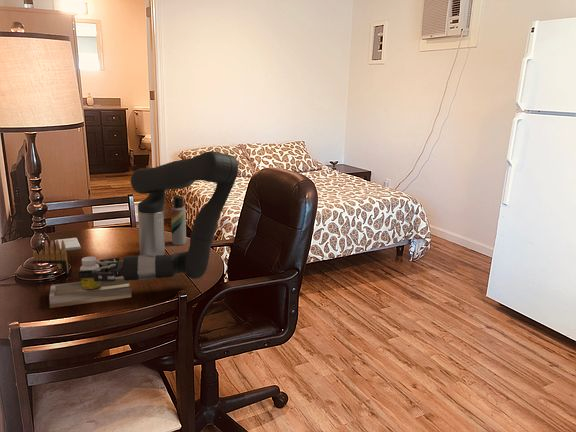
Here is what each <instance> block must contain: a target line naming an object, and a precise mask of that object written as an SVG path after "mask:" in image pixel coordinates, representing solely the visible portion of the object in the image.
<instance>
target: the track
mask: <svg viewBox="0 0 576 432" xmlns="http://www.w3.org/2000/svg"><path fill="white" fill-rule="evenodd" d="M129 298H132V286H130V281H125V280H124V277H123V276H119V277H115V281H113V282H104V281H101V288H100V289H99V290H95V291H87V292H84V291H83V290H82V284H81V281H74V282H73V281H72V282H65V283H56V284H51V286H50V290H49V297H48V299H49V308H50V309H54V308H60V307H67V306H75V305H82V304H91V303H97V302H98V303H99V302H106V301H115V300H121V299H129Z"/></svg>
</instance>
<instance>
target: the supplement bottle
mask: <svg viewBox="0 0 576 432" xmlns="http://www.w3.org/2000/svg"><path fill="white" fill-rule="evenodd" d="M96 262H97V257H96V256H85V257H82V258H81V266H80V267H79V271H85V270H96V269H100V267H99V265H98V264H96ZM80 282H81V284H82V290H83V291H84V292H87V291H95V290H99V289H100V288H101V281H94V279H93V278H83V279H80Z"/></svg>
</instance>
